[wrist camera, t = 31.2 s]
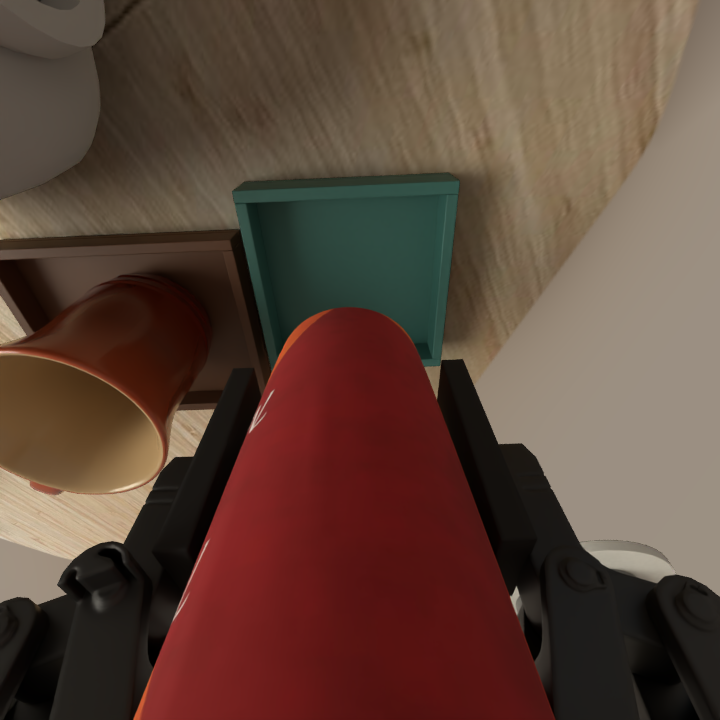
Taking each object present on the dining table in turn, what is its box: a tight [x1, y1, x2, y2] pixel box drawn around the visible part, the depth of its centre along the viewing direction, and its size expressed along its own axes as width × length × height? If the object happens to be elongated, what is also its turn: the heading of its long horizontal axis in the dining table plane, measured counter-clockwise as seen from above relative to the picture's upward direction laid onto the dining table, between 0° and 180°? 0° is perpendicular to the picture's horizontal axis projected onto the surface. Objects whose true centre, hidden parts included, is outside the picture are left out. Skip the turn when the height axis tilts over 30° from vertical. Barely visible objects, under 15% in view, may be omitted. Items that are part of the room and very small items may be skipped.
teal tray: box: [232, 173, 460, 371], centre depth 22 cm, size 11×11×2 cm
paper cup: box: [133, 307, 555, 720], centre depth 9 cm, size 8×8×14 cm
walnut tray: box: [0, 230, 271, 411], centre depth 24 cm, size 12×14×2 cm
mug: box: [0, 273, 212, 495], centre depth 21 cm, size 12×9×10 cm
